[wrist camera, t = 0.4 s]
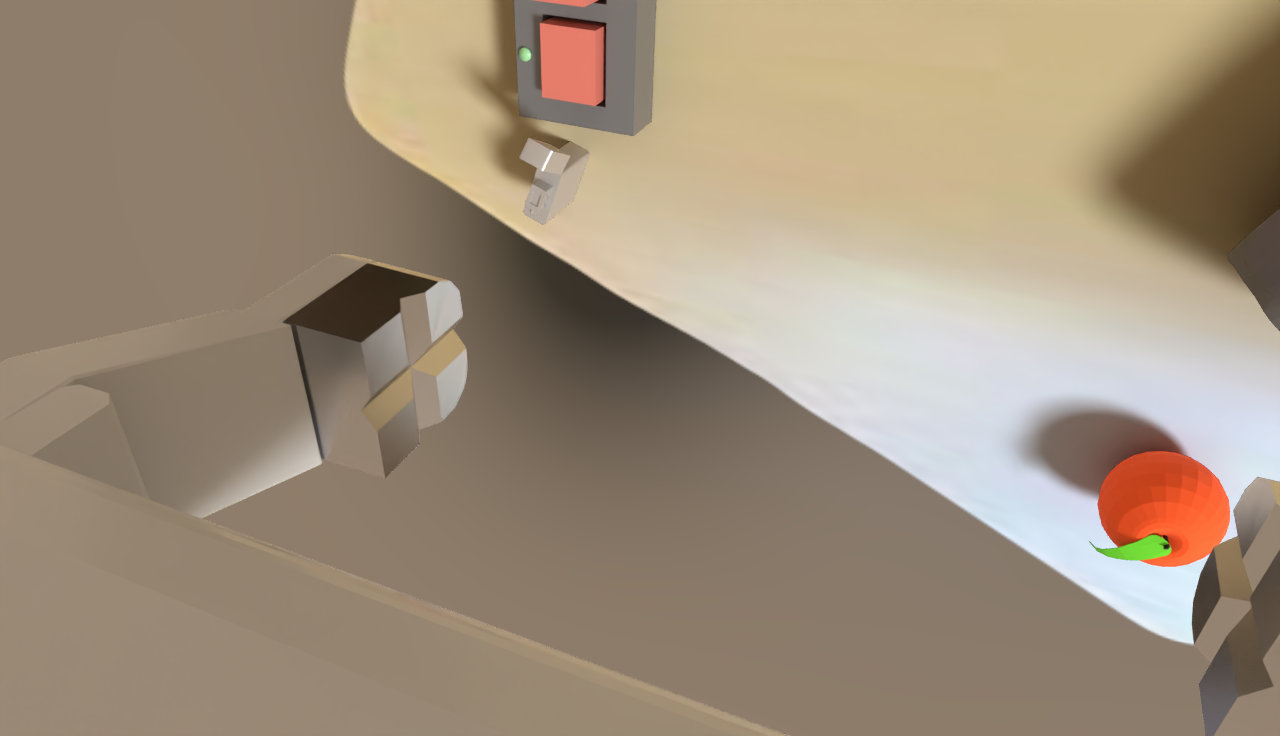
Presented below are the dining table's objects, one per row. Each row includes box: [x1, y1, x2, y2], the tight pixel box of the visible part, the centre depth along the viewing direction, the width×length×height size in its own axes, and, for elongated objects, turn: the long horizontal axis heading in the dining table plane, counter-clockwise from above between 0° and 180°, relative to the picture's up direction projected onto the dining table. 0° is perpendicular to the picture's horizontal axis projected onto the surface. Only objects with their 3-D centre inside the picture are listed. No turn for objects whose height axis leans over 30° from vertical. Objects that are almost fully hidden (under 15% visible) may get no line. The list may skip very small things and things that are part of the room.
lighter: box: [519, 137, 590, 225], centre depth 58 cm, size 7×2×8 cm, turn 159°
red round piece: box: [1089, 451, 1230, 567], centre depth 55 cm, size 8×7×7 cm
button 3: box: [540, 16, 606, 106], centre depth 55 cm, size 4×4×3 cm
